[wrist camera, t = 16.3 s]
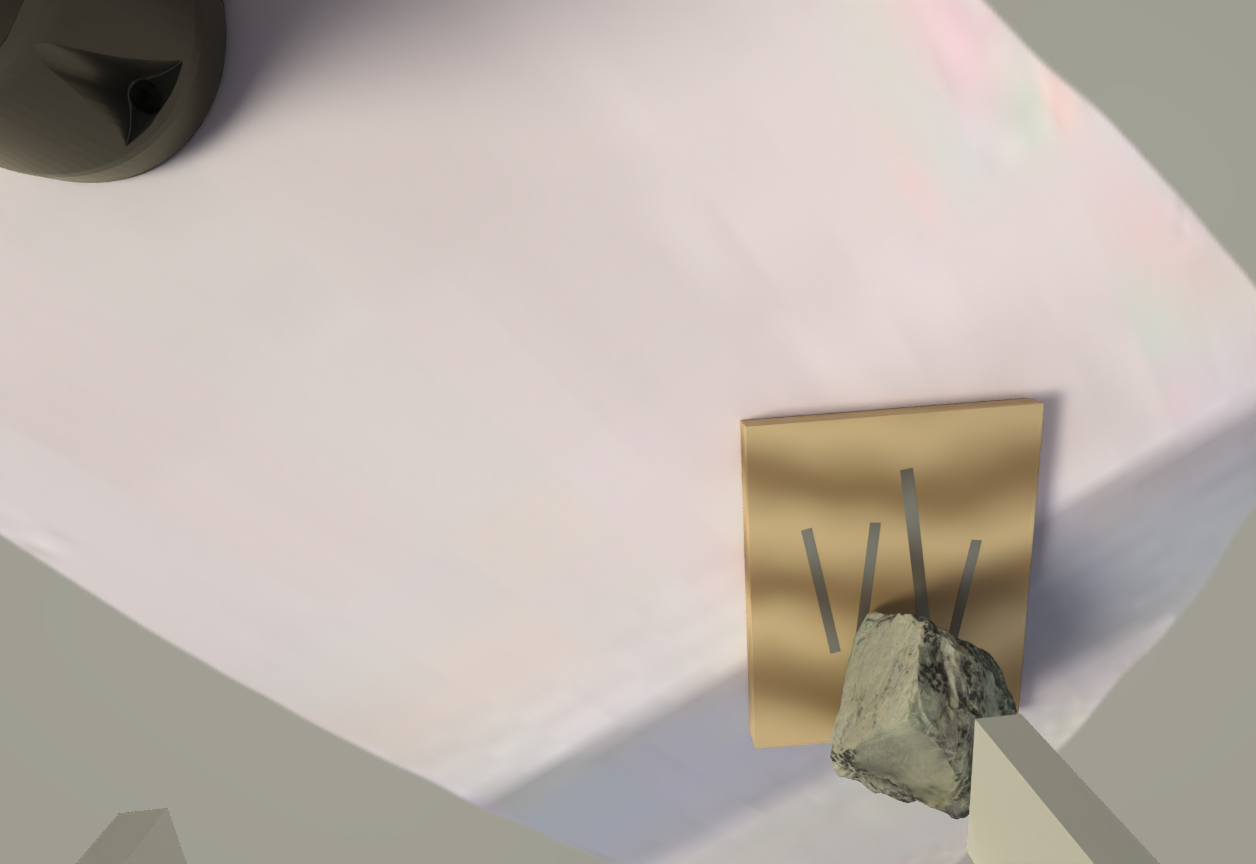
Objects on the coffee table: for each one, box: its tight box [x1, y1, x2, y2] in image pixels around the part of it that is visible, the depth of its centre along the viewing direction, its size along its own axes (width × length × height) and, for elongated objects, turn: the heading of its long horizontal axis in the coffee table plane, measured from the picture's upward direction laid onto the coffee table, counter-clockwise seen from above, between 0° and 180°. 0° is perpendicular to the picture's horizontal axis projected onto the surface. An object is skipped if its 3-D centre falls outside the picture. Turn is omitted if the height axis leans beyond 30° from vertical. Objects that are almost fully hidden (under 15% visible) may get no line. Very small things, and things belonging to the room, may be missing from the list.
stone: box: [830, 612, 1017, 819], centre depth 35 cm, size 10×10×10 cm
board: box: [740, 398, 1044, 749], centre depth 38 cm, size 20×16×2 cm
